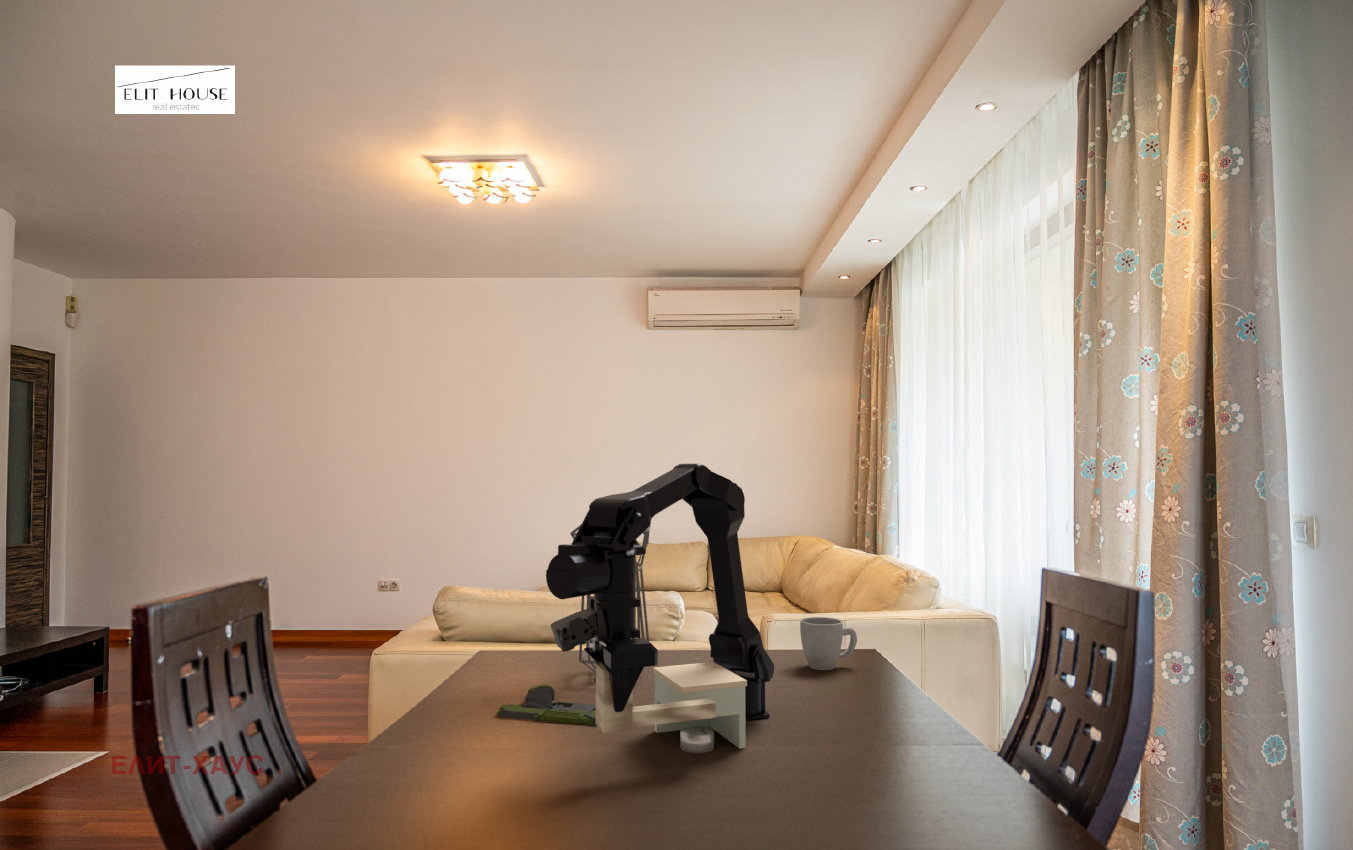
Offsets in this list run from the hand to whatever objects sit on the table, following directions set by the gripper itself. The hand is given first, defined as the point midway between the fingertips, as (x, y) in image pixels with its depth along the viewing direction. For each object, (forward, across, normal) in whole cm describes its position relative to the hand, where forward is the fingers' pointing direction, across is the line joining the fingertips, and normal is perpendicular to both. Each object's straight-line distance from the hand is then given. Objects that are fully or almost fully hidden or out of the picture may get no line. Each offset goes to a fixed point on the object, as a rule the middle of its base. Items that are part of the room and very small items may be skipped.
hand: (614, 707), depth 105 cm
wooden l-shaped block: (+3, 0, +6) cm, 7 cm away
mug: (+9, -41, +59) cm, 72 cm away
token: (+9, -6, +15) cm, 18 cm away
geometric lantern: (+9, -49, +14) cm, 52 cm away
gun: (+10, -32, 0) cm, 33 cm away
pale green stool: (+9, -9, +16) cm, 21 cm away
